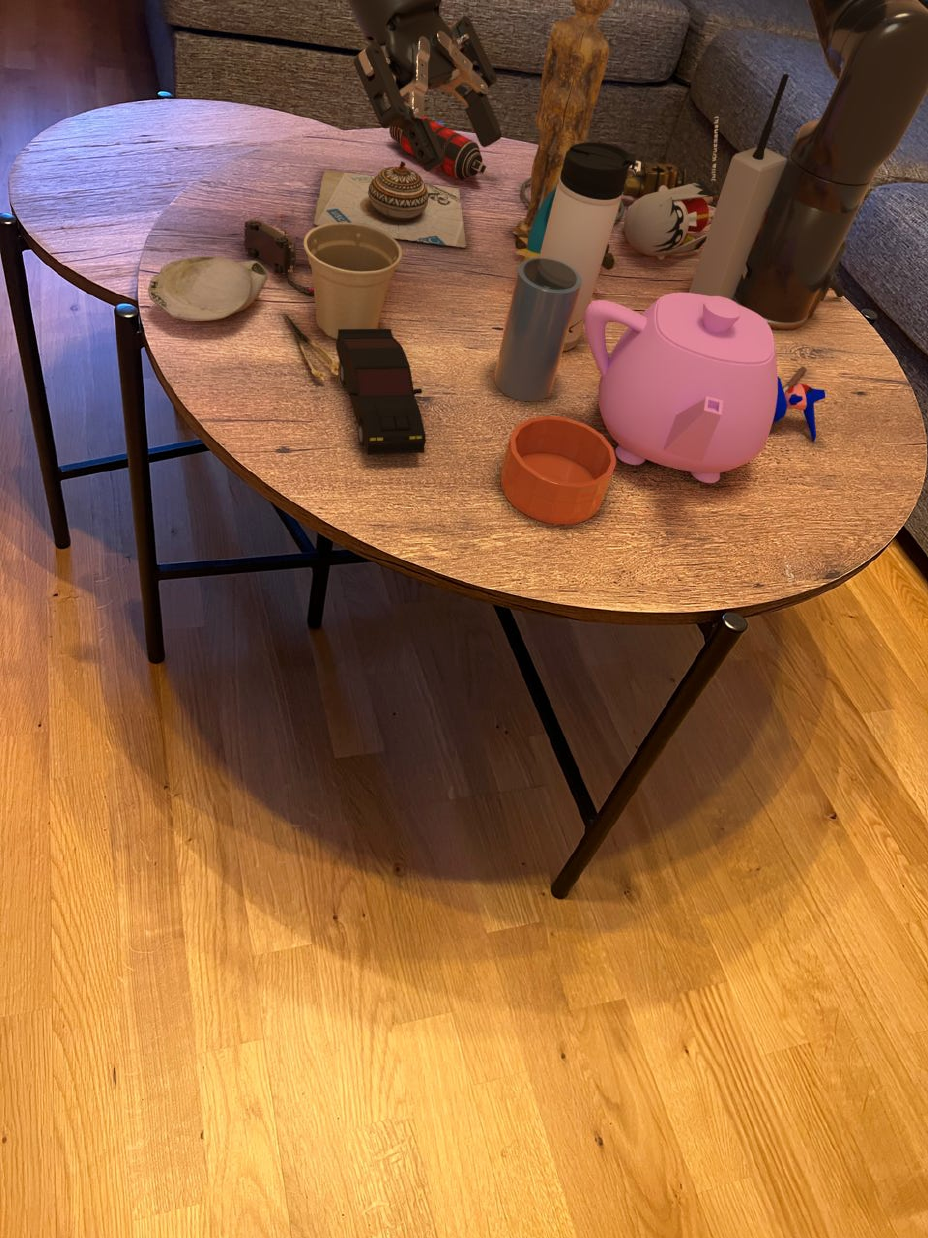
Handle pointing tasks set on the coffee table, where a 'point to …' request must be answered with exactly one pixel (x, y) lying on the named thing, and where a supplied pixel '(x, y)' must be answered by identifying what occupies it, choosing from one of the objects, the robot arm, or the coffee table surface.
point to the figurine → (798, 403)
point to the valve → (653, 179)
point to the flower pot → (350, 274)
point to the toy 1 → (536, 236)
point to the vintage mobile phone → (739, 213)
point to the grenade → (450, 151)
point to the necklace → (308, 289)
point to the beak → (317, 349)
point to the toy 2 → (670, 218)
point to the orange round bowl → (557, 469)
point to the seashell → (206, 287)
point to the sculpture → (566, 96)
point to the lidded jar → (393, 205)
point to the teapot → (686, 382)
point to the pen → (794, 379)
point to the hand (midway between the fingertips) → (465, 154)
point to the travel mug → (585, 216)
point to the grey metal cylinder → (536, 328)
